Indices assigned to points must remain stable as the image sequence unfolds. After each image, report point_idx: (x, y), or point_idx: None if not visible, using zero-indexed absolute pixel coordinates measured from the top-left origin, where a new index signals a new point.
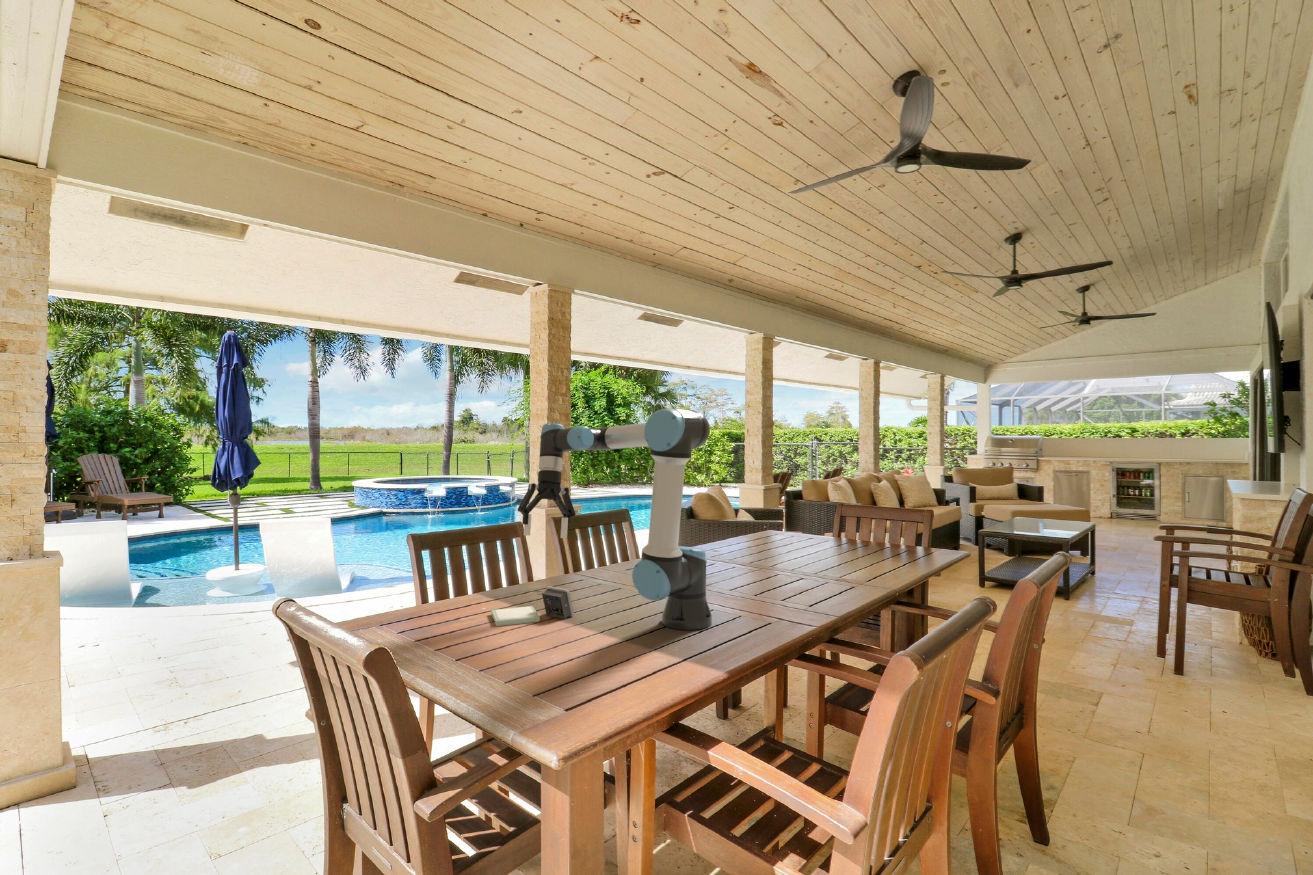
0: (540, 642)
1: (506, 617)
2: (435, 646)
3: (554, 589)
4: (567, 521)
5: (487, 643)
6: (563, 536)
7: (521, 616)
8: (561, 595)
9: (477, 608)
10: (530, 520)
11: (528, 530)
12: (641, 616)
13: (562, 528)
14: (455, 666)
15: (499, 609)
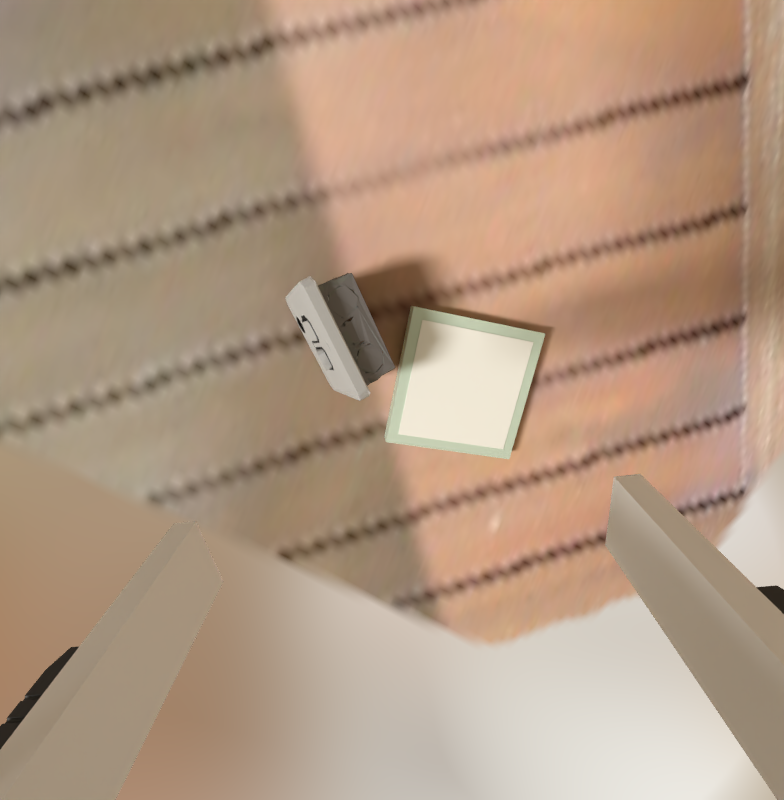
0: (498, 78)
1: (506, 353)
2: (730, 243)
3: (347, 350)
4: (29, 721)
5: (623, 180)
6: (200, 552)
7: (464, 339)
8: (341, 279)
9: (509, 529)
10: (765, 625)
11: (671, 508)
12: (28, 139)
13: (164, 655)
14: (771, 24)
15: (487, 452)
